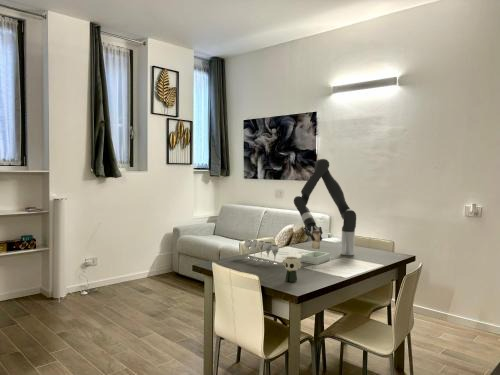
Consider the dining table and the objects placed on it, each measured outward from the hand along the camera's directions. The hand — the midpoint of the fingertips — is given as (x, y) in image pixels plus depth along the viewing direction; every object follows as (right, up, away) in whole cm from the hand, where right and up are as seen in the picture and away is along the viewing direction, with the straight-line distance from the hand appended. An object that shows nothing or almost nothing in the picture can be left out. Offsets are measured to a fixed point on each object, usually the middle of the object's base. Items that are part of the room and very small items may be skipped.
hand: (317, 240), depth 267 cm
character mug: (-23, -16, -49) cm, 56 cm away
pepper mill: (-1, -6, +2) cm, 6 cm away
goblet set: (-38, -14, -1) cm, 41 cm away
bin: (-1, -14, +2) cm, 14 cm away
